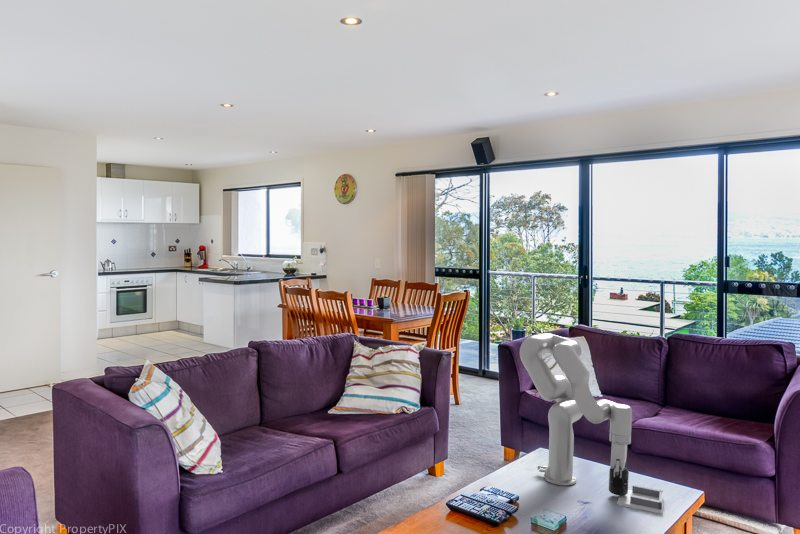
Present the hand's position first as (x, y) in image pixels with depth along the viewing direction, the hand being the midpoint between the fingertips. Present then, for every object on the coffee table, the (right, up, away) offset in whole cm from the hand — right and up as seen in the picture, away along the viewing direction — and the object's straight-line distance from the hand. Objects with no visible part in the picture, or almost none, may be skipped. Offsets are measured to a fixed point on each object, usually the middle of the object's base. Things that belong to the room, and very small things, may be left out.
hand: (618, 483), depth 219 cm
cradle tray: (+7, -6, -3) cm, 10 cm away
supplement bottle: (0, -4, 0) cm, 4 cm away
